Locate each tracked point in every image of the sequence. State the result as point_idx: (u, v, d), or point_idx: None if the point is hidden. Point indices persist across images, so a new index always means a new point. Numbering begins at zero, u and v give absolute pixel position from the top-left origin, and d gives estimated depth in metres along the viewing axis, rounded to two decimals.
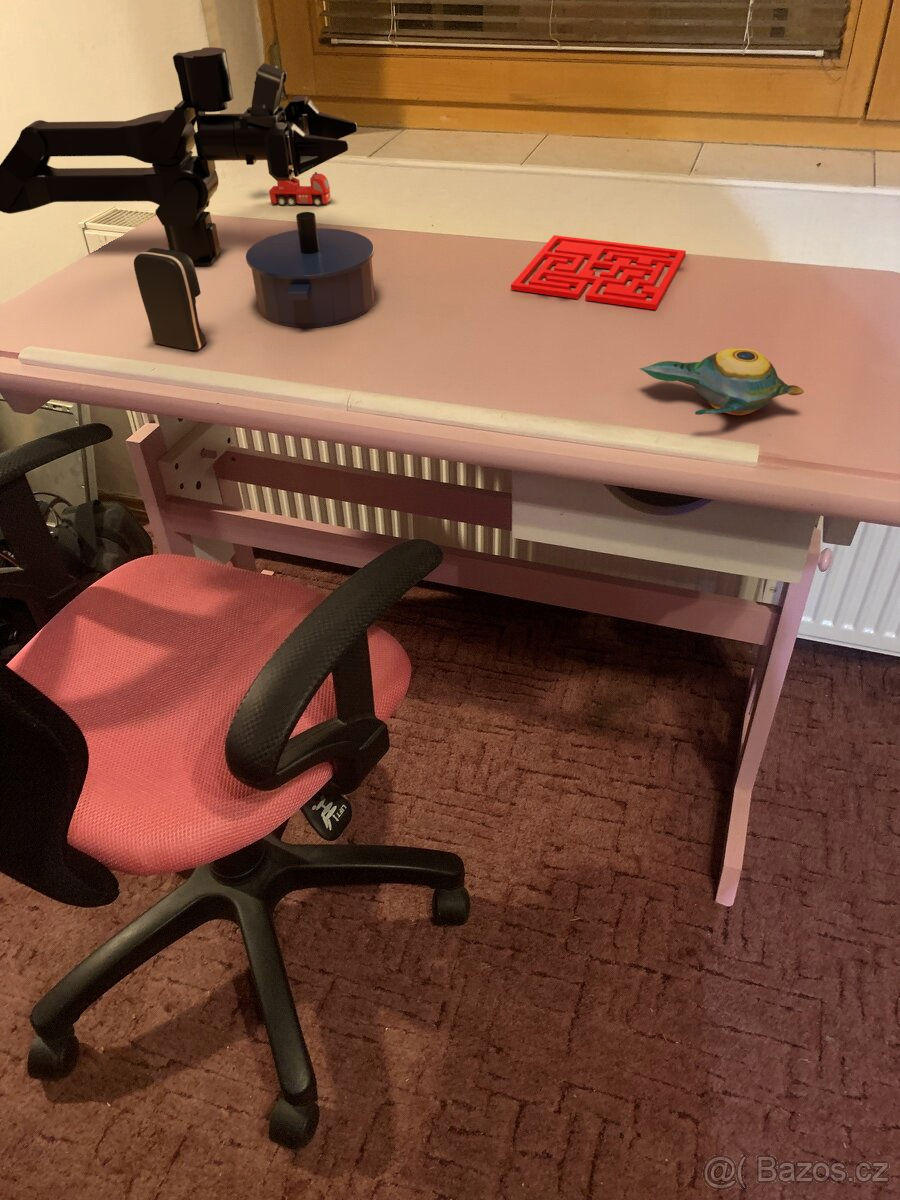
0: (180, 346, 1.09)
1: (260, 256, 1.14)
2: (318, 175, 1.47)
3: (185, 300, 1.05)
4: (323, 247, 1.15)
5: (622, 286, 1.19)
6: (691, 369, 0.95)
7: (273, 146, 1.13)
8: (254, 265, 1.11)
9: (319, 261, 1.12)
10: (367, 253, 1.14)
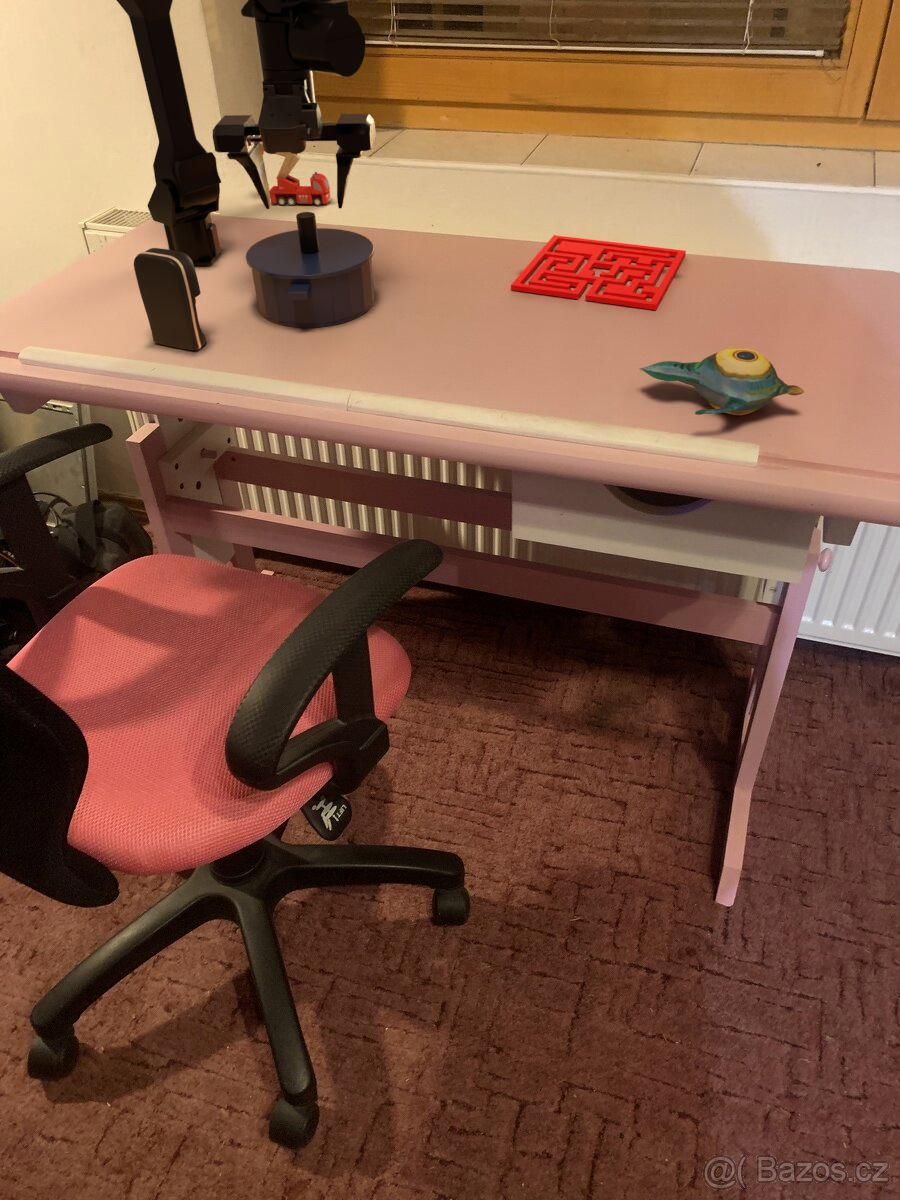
0: (180, 346, 1.09)
1: (260, 256, 1.14)
2: (318, 175, 1.47)
3: (185, 300, 1.05)
4: (323, 247, 1.15)
5: (622, 286, 1.19)
6: (691, 369, 0.95)
7: None
8: (254, 265, 1.11)
9: (319, 261, 1.12)
10: (367, 253, 1.14)
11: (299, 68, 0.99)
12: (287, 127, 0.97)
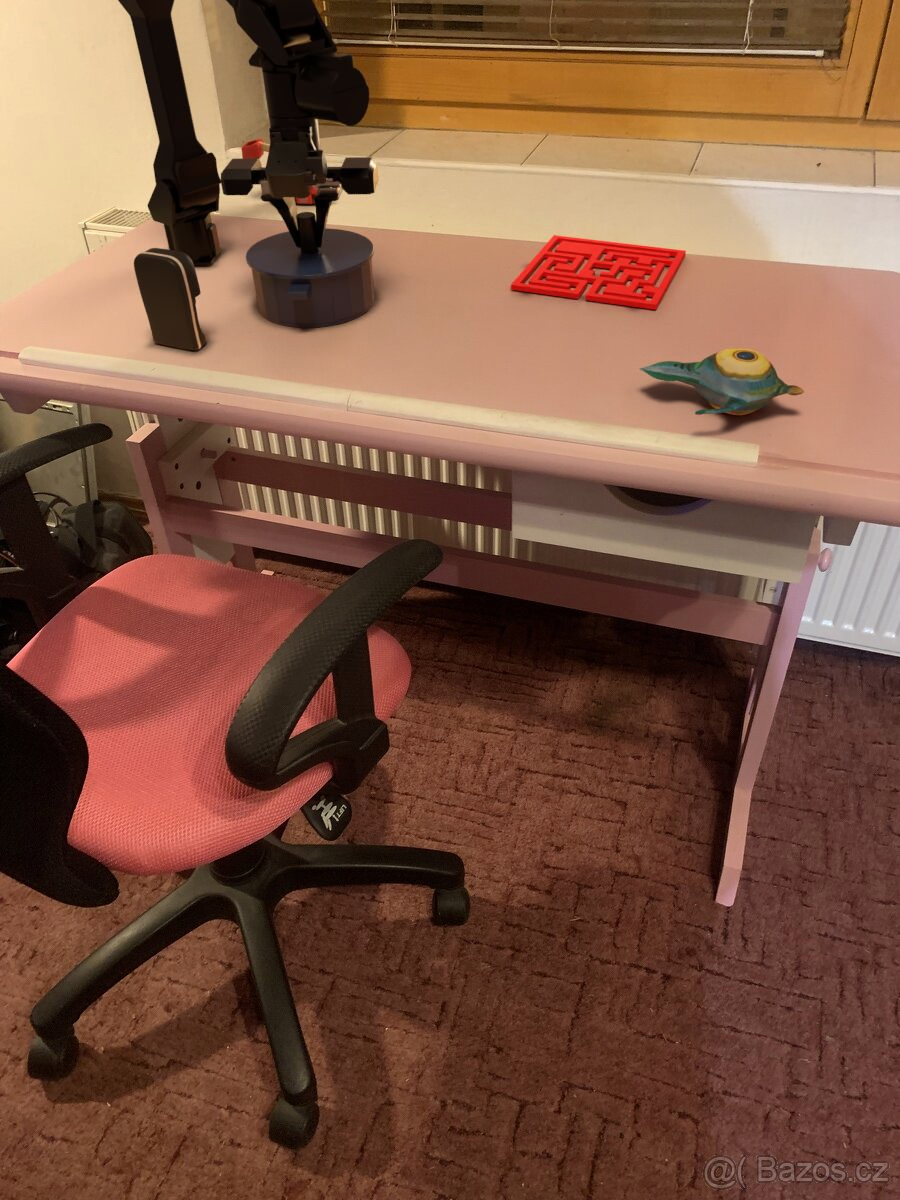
0: (180, 346, 1.09)
1: (260, 256, 1.14)
2: None
3: (185, 300, 1.05)
4: (323, 247, 1.15)
5: (622, 286, 1.19)
6: (691, 369, 0.95)
7: None
8: (254, 265, 1.11)
9: (319, 261, 1.12)
10: (367, 253, 1.14)
11: (305, 116, 1.02)
12: (293, 174, 1.01)
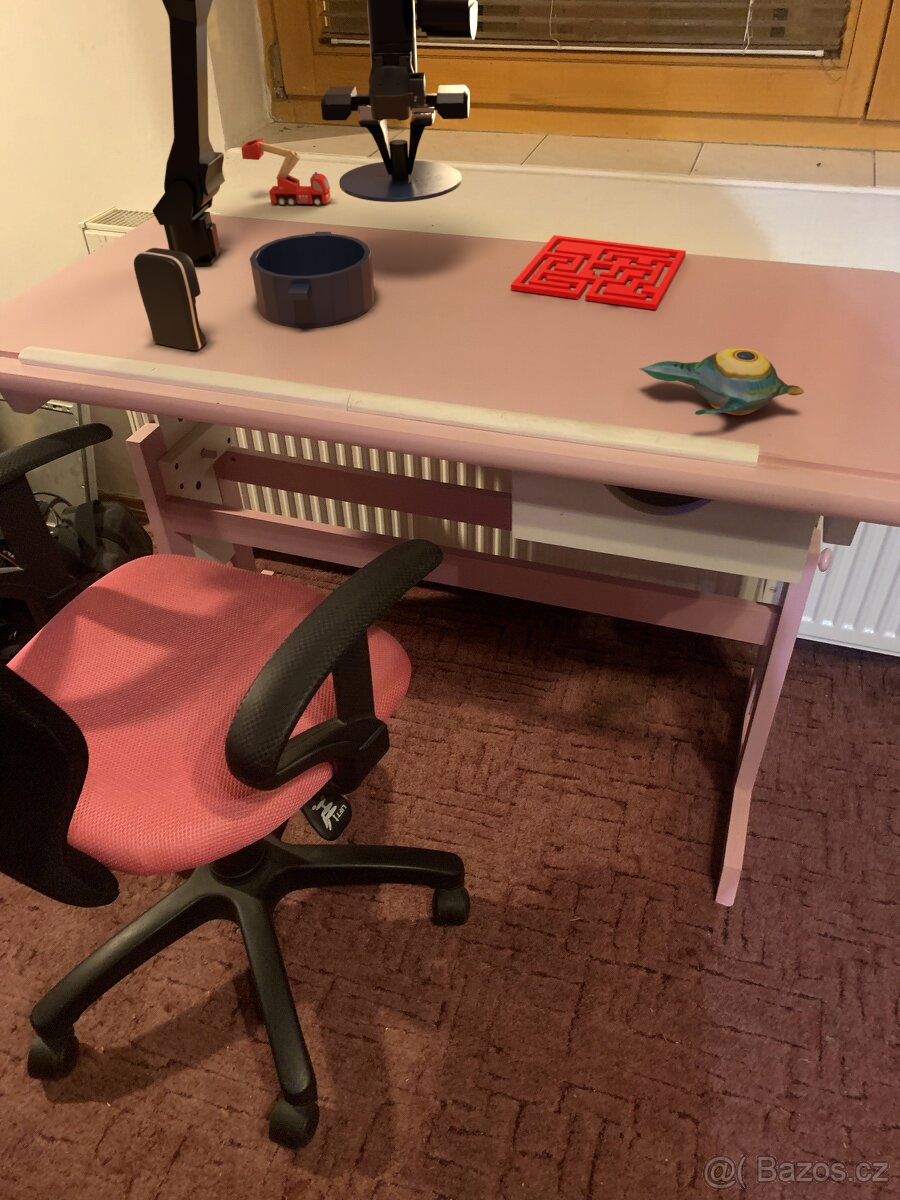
0: (180, 346, 1.09)
1: (353, 182, 1.18)
2: (318, 175, 1.47)
3: (185, 300, 1.05)
4: (412, 175, 1.20)
5: (622, 286, 1.19)
6: (691, 369, 0.95)
7: None
8: (349, 190, 1.16)
9: (411, 187, 1.16)
10: (456, 180, 1.18)
11: (406, 41, 1.07)
12: (396, 95, 1.05)
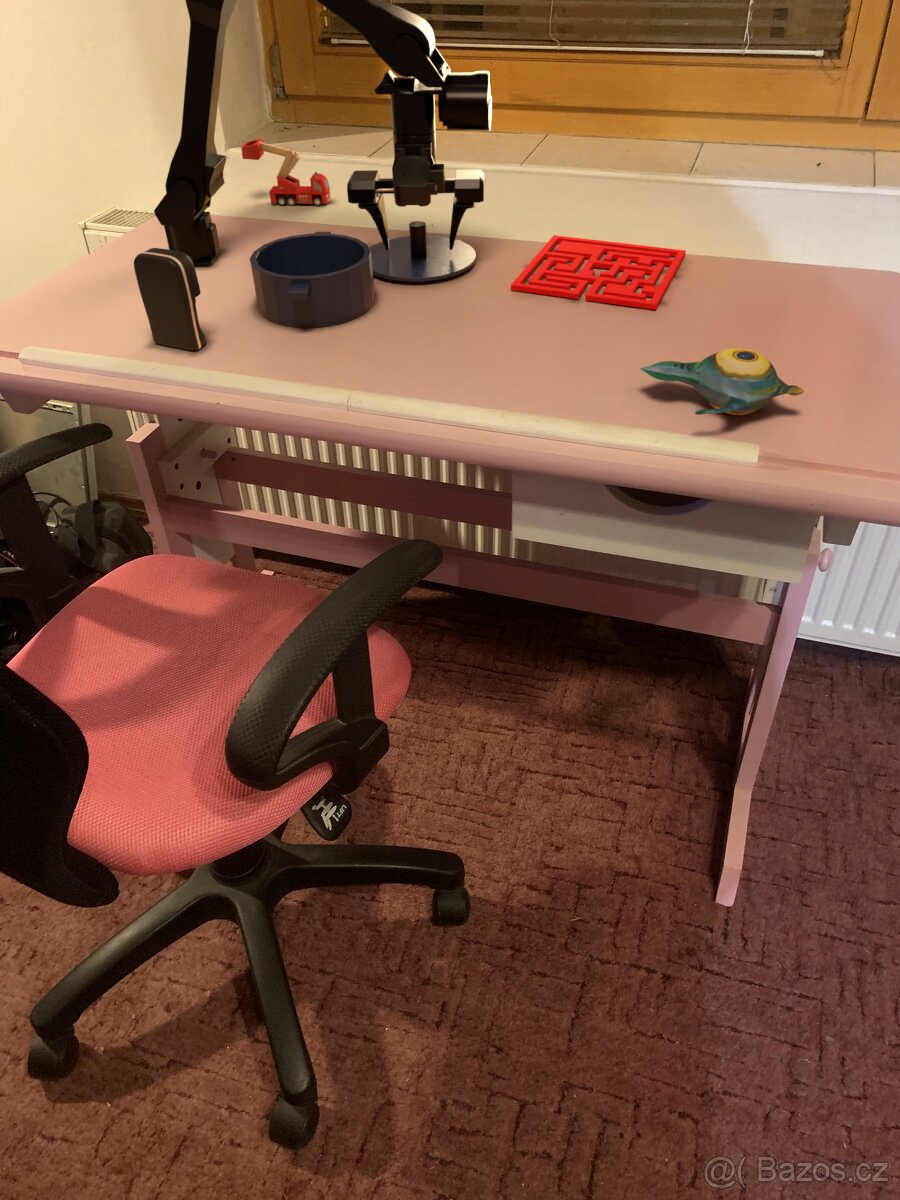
0: (180, 346, 1.09)
1: (375, 260, 1.27)
2: (318, 175, 1.47)
3: (185, 300, 1.05)
4: (430, 252, 1.29)
5: (622, 286, 1.19)
6: (691, 369, 0.95)
7: None
8: (372, 268, 1.25)
9: (430, 265, 1.25)
10: (471, 258, 1.27)
11: (427, 133, 1.16)
12: (418, 185, 1.14)
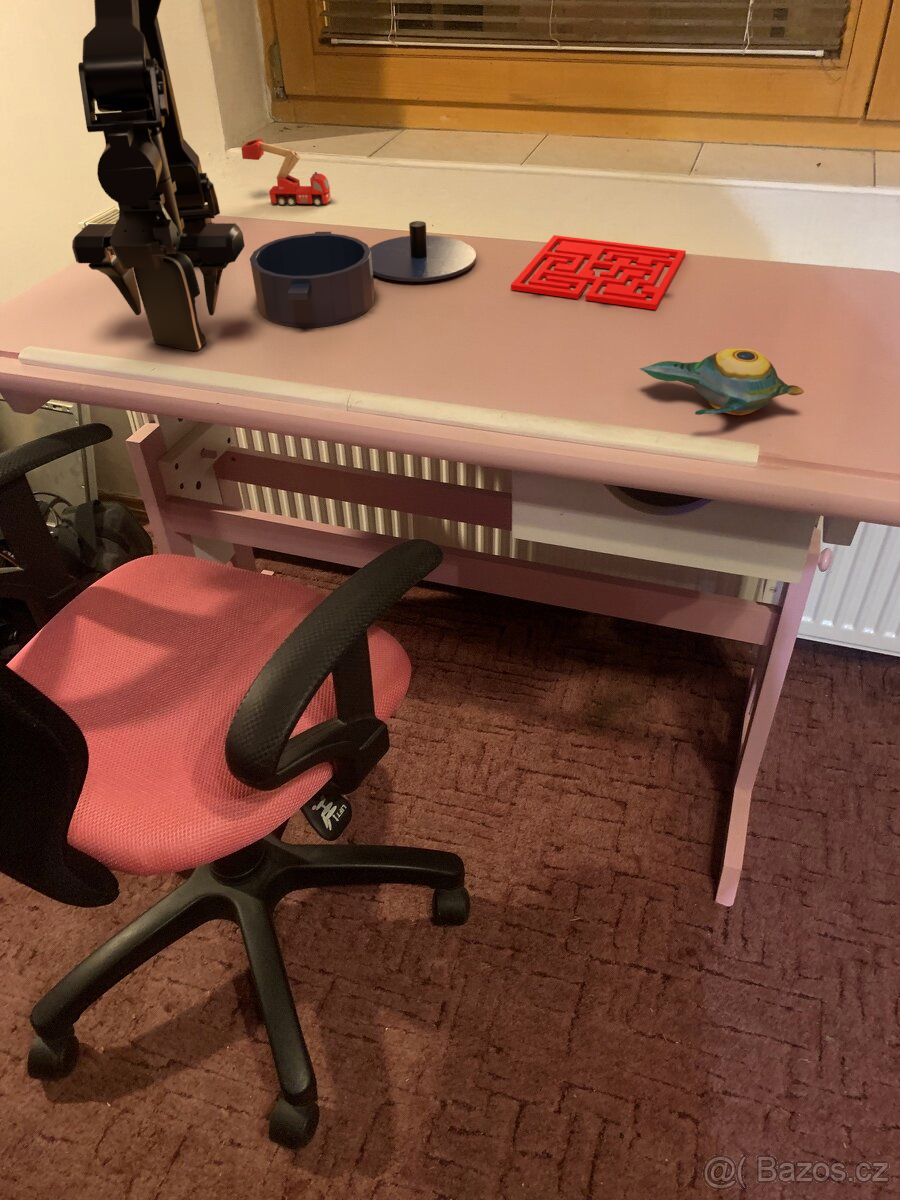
0: (180, 346, 1.09)
1: (375, 260, 1.27)
2: (318, 175, 1.47)
3: (184, 300, 1.04)
4: (430, 252, 1.29)
5: (622, 286, 1.19)
6: (691, 369, 0.95)
7: None
8: (372, 268, 1.25)
9: (430, 265, 1.25)
10: (471, 258, 1.27)
11: None
12: (139, 244, 0.95)
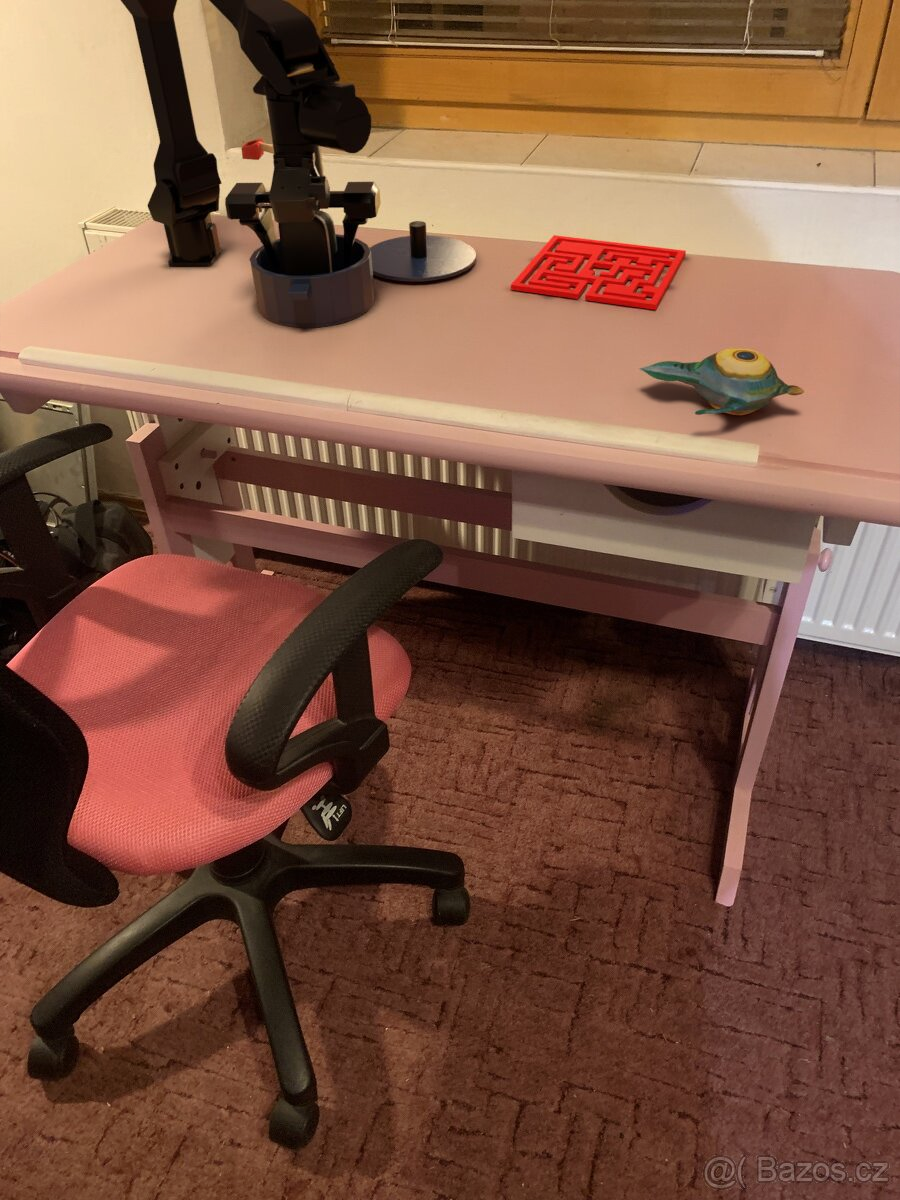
0: None
1: (375, 260, 1.27)
2: None
3: (326, 256, 1.13)
4: (430, 252, 1.29)
5: (622, 286, 1.19)
6: (691, 369, 0.95)
7: None
8: (372, 268, 1.25)
9: (430, 265, 1.25)
10: (471, 258, 1.27)
11: (308, 142, 1.04)
12: (297, 200, 1.03)
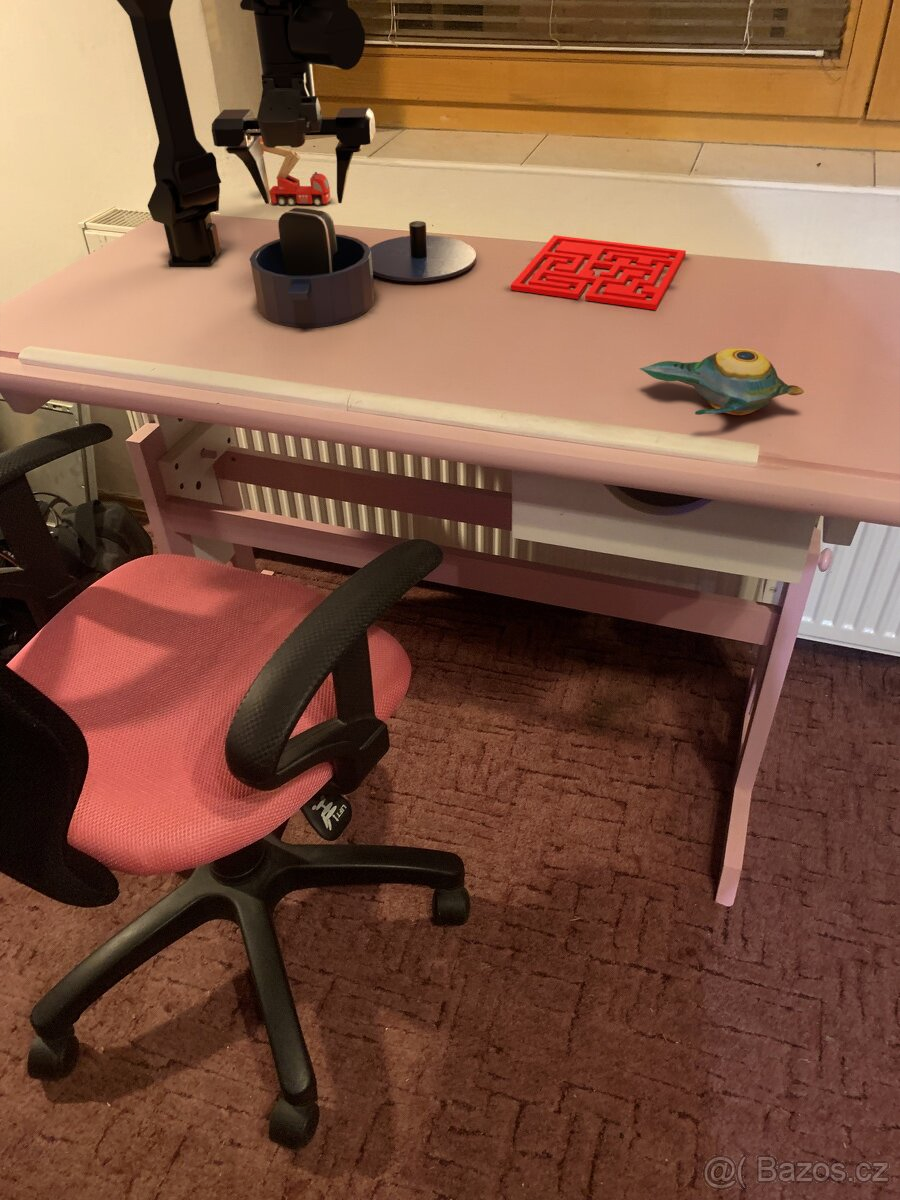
0: None
1: (375, 260, 1.27)
2: (318, 175, 1.47)
3: (326, 256, 1.13)
4: (430, 252, 1.29)
5: (622, 286, 1.19)
6: (691, 369, 0.95)
7: None
8: (372, 268, 1.25)
9: (430, 265, 1.25)
10: (471, 258, 1.27)
11: (298, 61, 0.99)
12: (286, 120, 0.97)
